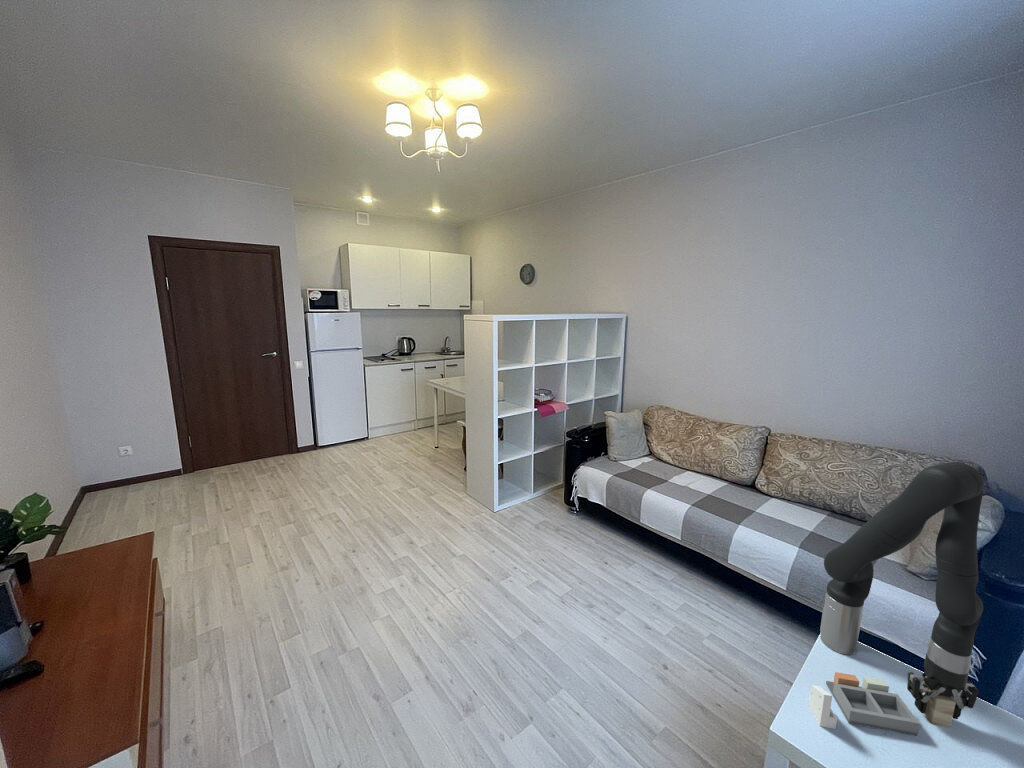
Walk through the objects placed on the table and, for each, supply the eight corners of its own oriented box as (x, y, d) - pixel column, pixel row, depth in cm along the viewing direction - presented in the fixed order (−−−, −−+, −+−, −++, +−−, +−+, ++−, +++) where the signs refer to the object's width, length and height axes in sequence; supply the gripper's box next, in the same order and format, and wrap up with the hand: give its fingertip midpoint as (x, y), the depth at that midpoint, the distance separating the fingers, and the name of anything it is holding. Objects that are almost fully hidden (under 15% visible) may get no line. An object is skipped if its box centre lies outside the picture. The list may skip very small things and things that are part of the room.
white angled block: (830, 735, 100) (824, 694, 103) (810, 717, 109) (805, 680, 112) (846, 738, 99) (840, 697, 102) (825, 720, 108) (819, 682, 111)
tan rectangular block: (920, 709, 108) (925, 684, 107) (938, 712, 107) (943, 687, 106) (931, 723, 104) (936, 698, 103) (950, 727, 103) (955, 702, 102)
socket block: (825, 683, 116) (828, 669, 115) (886, 694, 112) (889, 679, 111) (848, 723, 105) (851, 707, 104) (916, 736, 101) (920, 720, 100)
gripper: (969, 652, 104) (957, 705, 107) (903, 643, 107) (894, 694, 111) (995, 678, 97) (982, 733, 100) (924, 667, 100) (913, 721, 103)
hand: (936, 712), depth 105 cm, fingers open, 6 cm apart
